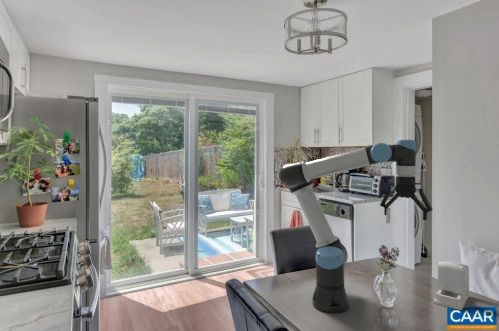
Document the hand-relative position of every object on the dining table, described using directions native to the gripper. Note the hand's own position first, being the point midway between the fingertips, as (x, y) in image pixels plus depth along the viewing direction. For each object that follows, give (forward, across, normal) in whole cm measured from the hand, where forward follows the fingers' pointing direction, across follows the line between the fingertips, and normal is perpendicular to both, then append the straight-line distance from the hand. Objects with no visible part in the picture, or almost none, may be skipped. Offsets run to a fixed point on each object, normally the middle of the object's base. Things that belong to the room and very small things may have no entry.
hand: (404, 225), depth 132 cm
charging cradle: (+33, -15, -15) cm, 39 cm away
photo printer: (+29, -15, -15) cm, 36 cm away
